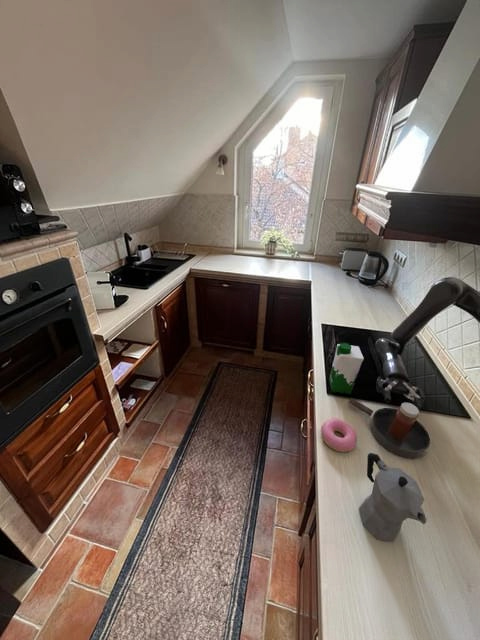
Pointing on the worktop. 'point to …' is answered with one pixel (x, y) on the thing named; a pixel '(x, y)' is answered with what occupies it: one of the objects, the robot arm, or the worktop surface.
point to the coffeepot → (390, 501)
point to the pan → (407, 448)
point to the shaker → (403, 421)
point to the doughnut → (337, 442)
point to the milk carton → (345, 368)
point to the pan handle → (360, 406)
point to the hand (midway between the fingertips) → (403, 405)
